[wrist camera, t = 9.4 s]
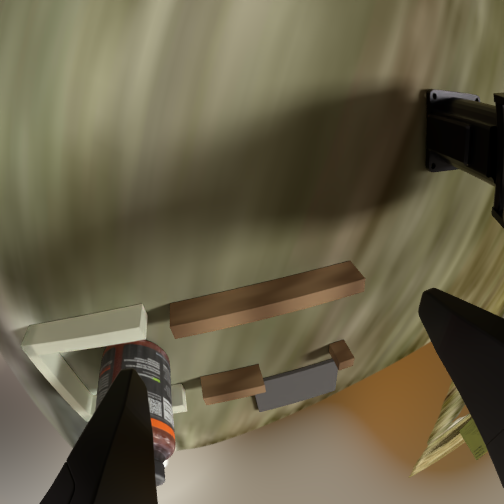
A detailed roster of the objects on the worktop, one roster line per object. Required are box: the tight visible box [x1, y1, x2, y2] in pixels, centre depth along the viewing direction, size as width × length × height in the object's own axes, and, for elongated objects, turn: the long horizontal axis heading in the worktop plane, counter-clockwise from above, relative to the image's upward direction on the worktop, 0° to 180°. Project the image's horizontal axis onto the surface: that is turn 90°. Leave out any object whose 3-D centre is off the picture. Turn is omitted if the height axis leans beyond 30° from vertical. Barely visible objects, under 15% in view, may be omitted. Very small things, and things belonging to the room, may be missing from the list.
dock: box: [21, 304, 187, 421], centre depth 23 cm, size 11×11×2 cm
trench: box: [170, 261, 365, 405], centre depth 24 cm, size 14×10×2 cm
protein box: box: [459, 418, 488, 460], centre depth 68 cm, size 10×15×16 cm
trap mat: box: [255, 359, 338, 412], centre depth 30 cm, size 9×6×1 cm, turn 98°
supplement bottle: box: [95, 340, 175, 486], centre depth 19 cm, size 6×6×11 cm
